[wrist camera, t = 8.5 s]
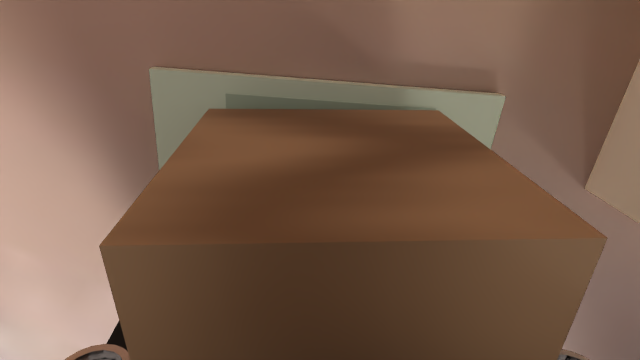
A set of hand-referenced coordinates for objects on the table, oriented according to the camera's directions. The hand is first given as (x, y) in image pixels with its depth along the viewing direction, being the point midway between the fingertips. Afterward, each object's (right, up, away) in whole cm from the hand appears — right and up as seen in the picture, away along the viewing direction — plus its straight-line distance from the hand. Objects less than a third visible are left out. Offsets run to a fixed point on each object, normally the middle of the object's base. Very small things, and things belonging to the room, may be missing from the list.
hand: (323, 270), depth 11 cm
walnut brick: (0, 0, +1) cm, 1 cm away
